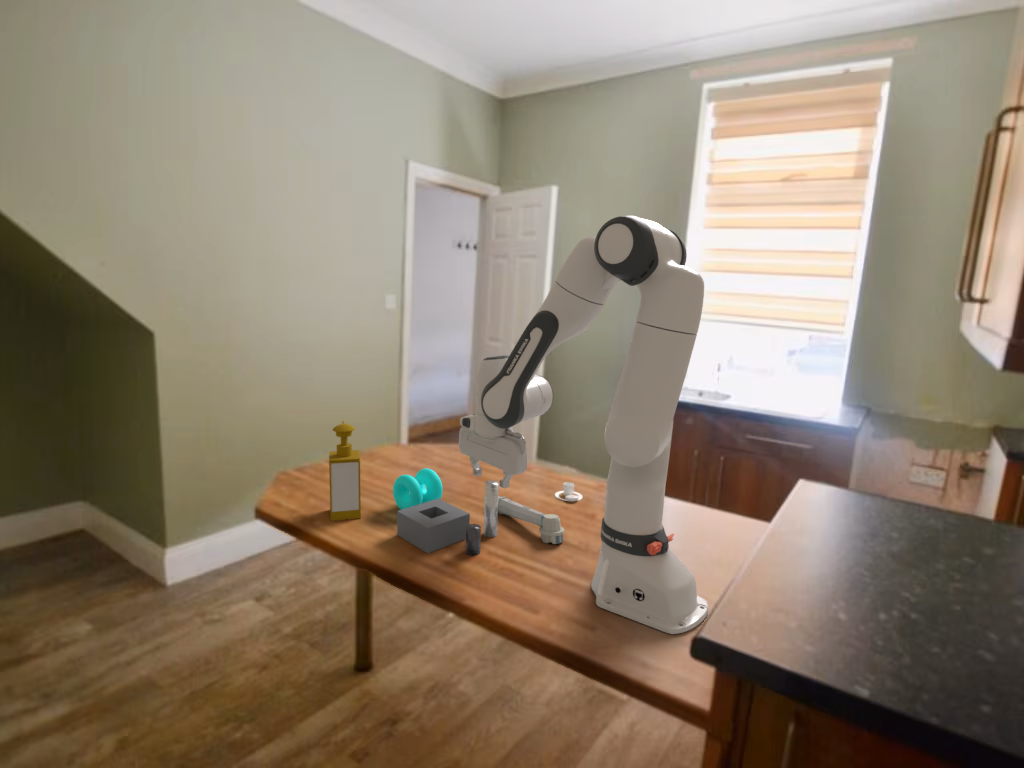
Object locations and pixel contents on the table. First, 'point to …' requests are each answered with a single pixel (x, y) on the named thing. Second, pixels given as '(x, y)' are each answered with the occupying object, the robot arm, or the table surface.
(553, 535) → the toothbrush head
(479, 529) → the short pin
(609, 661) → the table surface
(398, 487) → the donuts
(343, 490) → the soap bottle
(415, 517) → the hole block
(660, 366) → the robot arm
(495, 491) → the long pin
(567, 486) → the teacup and saucer
